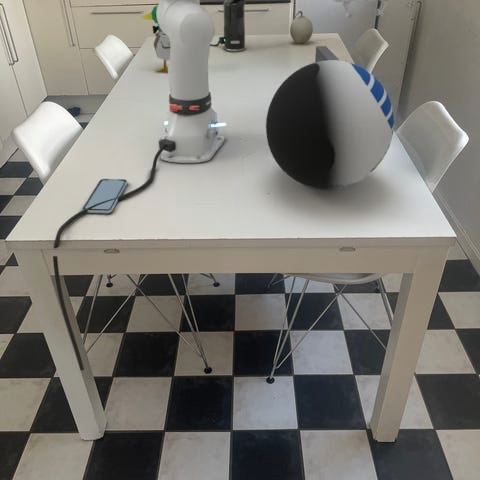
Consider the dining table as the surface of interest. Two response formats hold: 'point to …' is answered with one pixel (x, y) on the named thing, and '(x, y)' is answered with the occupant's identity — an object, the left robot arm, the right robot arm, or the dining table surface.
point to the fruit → (301, 29)
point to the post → (324, 54)
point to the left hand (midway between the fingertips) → (364, 16)
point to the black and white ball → (329, 124)
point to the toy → (160, 40)
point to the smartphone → (105, 195)
